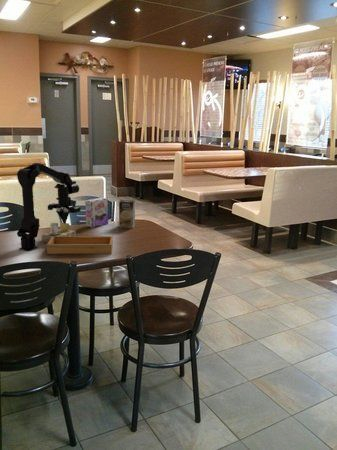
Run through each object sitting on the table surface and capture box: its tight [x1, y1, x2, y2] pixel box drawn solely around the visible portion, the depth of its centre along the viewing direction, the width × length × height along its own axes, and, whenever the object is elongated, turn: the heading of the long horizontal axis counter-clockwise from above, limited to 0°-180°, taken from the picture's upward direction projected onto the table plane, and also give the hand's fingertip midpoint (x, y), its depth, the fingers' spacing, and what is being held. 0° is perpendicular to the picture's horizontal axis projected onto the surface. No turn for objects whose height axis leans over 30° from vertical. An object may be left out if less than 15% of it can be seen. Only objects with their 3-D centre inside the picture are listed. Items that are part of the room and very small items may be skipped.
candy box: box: [85, 197, 109, 229], centre depth 250 cm, size 14×6×16 cm, turn 143°
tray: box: [46, 235, 114, 255], centre depth 203 cm, size 31×15×6 cm, turn 95°
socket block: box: [41, 228, 77, 243], centre depth 222 cm, size 16×10×3 cm, turn 154°
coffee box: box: [118, 199, 136, 229], centre depth 247 cm, size 9×6×16 cm
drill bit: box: [49, 222, 59, 236], centre depth 218 cm, size 4×4×9 cm
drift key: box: [59, 221, 71, 232], centre depth 225 cm, size 2×5×5 cm, turn 64°
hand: (64, 223), depth 225 cm, fingers closed, pressing on drift key
